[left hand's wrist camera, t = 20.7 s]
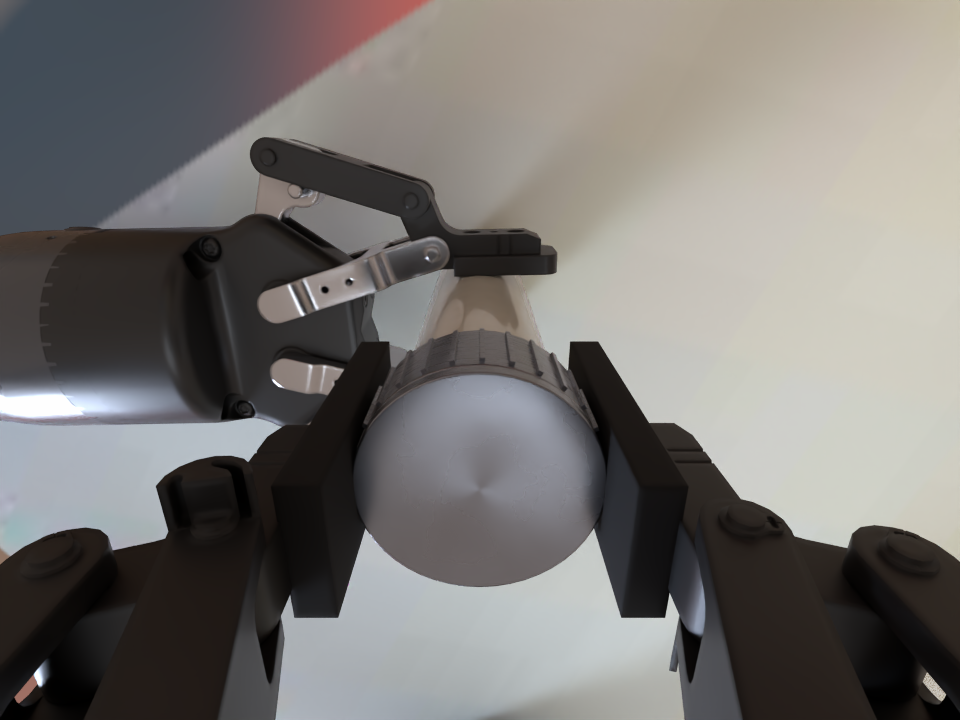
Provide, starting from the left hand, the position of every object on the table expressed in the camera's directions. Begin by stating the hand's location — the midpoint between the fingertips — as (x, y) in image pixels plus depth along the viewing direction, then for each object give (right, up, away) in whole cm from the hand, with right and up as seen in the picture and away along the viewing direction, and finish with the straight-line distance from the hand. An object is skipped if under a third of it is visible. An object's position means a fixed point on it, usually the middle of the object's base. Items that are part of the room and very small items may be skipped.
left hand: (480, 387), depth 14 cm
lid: (0, -2, -4) cm, 4 cm away
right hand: (+3, +2, +6) cm, 7 cm away
